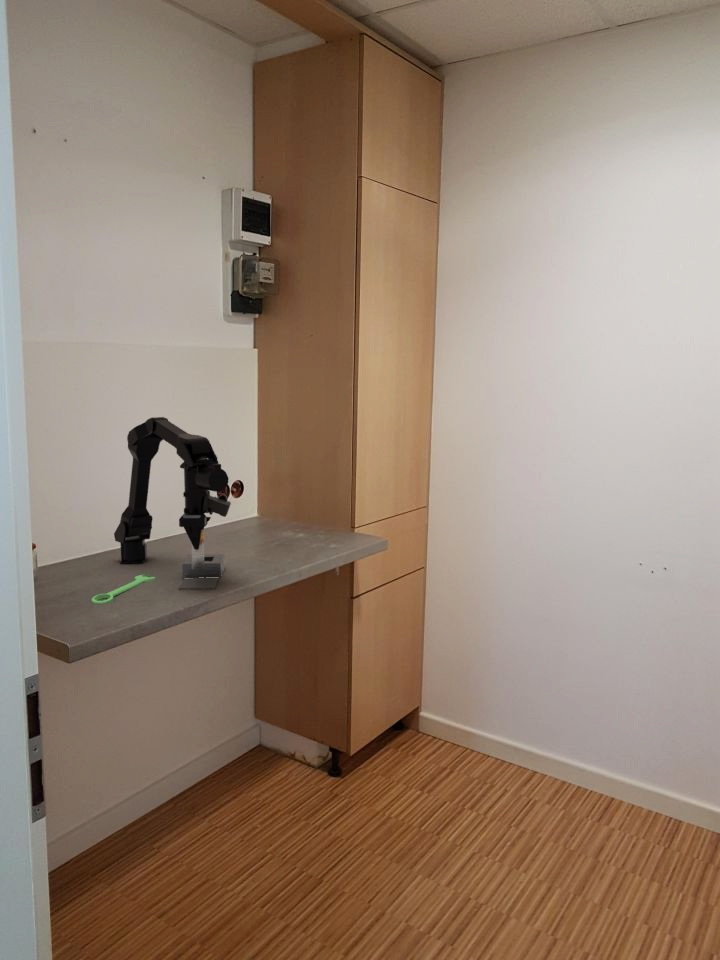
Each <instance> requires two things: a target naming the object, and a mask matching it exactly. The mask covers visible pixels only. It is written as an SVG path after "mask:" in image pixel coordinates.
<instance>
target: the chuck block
mask: <svg viewBox="0 0 720 960" xmlns="http://www.w3.org/2000/svg"><path fill="white" fill-rule="evenodd" d="M204 562H205V568H204V569H202V570H193V569H192V554H187V556H186V557H185V559H184V560H183V562H182V564H181V565H182V566H181V567H182V579H183V578H193V579H194V578H199V577H204V578H206V577H221V575H222V576H223V574H224V572H223V570H224V571H225V569H224V568H226V566H225V554H221V553H220V554H218V553H217V554H204ZM222 573H223V574H222ZM221 578H222V577H221Z"/></svg>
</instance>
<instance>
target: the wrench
mask: <svg viewBox="0 0 720 960" xmlns="http://www.w3.org/2000/svg"><path fill="white" fill-rule="evenodd" d="M149 575H150V574H139V575H136V576H134V581H131V582H129V583H127V584H125V585H123V586H119V587H118V588H116V589H114V590H112V591H109V592H107V593H100V594H97V595H95V596H93V597H91V603H92V604H95V605H103V604H104V605H106V604H109V603H112V602H113V601H114V597H115V596H118V595H120V594H122V593H124V592H126V591H129V590H130V589H133V588H135V587H137V586H140V585H141V584H143V583H149V581H150V582H154V581H155V580H156V579H157V578H156V577H155V576H150V577H148V576H149ZM153 580H154V581H153ZM102 599H104V600H102Z"/></svg>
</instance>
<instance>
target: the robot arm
mask: <svg viewBox="0 0 720 960" xmlns="http://www.w3.org/2000/svg"><path fill="white" fill-rule="evenodd" d="M126 438H127V439H126V440H127V449H128V452H129V453H130V454H131V456H132V466H131V475H130V485H129V497H128V504H127V506H126V507H125V510H124V511H123V512H122V513H121V517H120V521H119V524H118V525H117V528H116V529H115V531H114V533H113V536H114V541H115V542H117V543H120V560H119V564H120V565H121V564H143V563H144V562H145V561H146V559H148V543H146V542H145V541H146V540H150V538H151V534H152V533H151V532H152V529H153V527H152V526H153V525H152V524H153V515H151V514H150V512H149V510H148V509H147V506H148V496H149V495H148V494H149V485H150V476H151V467H152V460H153V459H154V458H155V456H156V455H157V453H159V449H160V444H161V442H163V441H165V442H166V443H168V444H170V445H171V446H172V447H174V448H175V450H176V455H177V456H178V457H179V458H180V459H182V461H183V462H182V463H180V465H179V468H180V469H183V475H184V476H183V477H184V480H183V481H184V482H183V483H184V492H183V494H182V495H183V498H184V508H183V514H182V515H181V516H180V517H179V519H178V527H180V528H183V529H184V530H185V532H186V534H187V536H188V538H189V541H190V543H192V545H193V547H194V549H199V546H200V539H201V533H202V529H203V530H204V531H205V528H206V526H207V525H208V522H209V521H210V520H211V518H212V517H211V516H207V515H206V514H209V515H213V514H217V515H219V516H221V517H223V518H224V517H227V515H228V513H229V510H230V508H231V504H232V502H231V501H229V500H228V495H226V494H220V495H219V496H218V497H217V496H212V495H211V491H212V492H215V493H220V492H223V491H224V490H225V489H226V488H227V487H228V484H229V476H228V474H227V472H226V471H225V470H224V469H222V464H221V463H219V460H218V456H217V454H216V453H215V451H214V448H213V446H212V444H211V442H210V440H209V438H208V437H205V436H202V435H200V434H199V435H198V434H193V433H192V434H190V433H188V432H187V431H185V430H183V429H182V428H180V427H179V426H178V425H176V424H175V423H172V422H171V421H169V419H168V418H167V417H164V416H158V417H157V416H156V417H150V418H147V420H145V421H144V422H143V423H141V424H138V425H136V426H135V427H133V428H132V429H131V430H130V431H128V433H127V437H126Z"/></svg>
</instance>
